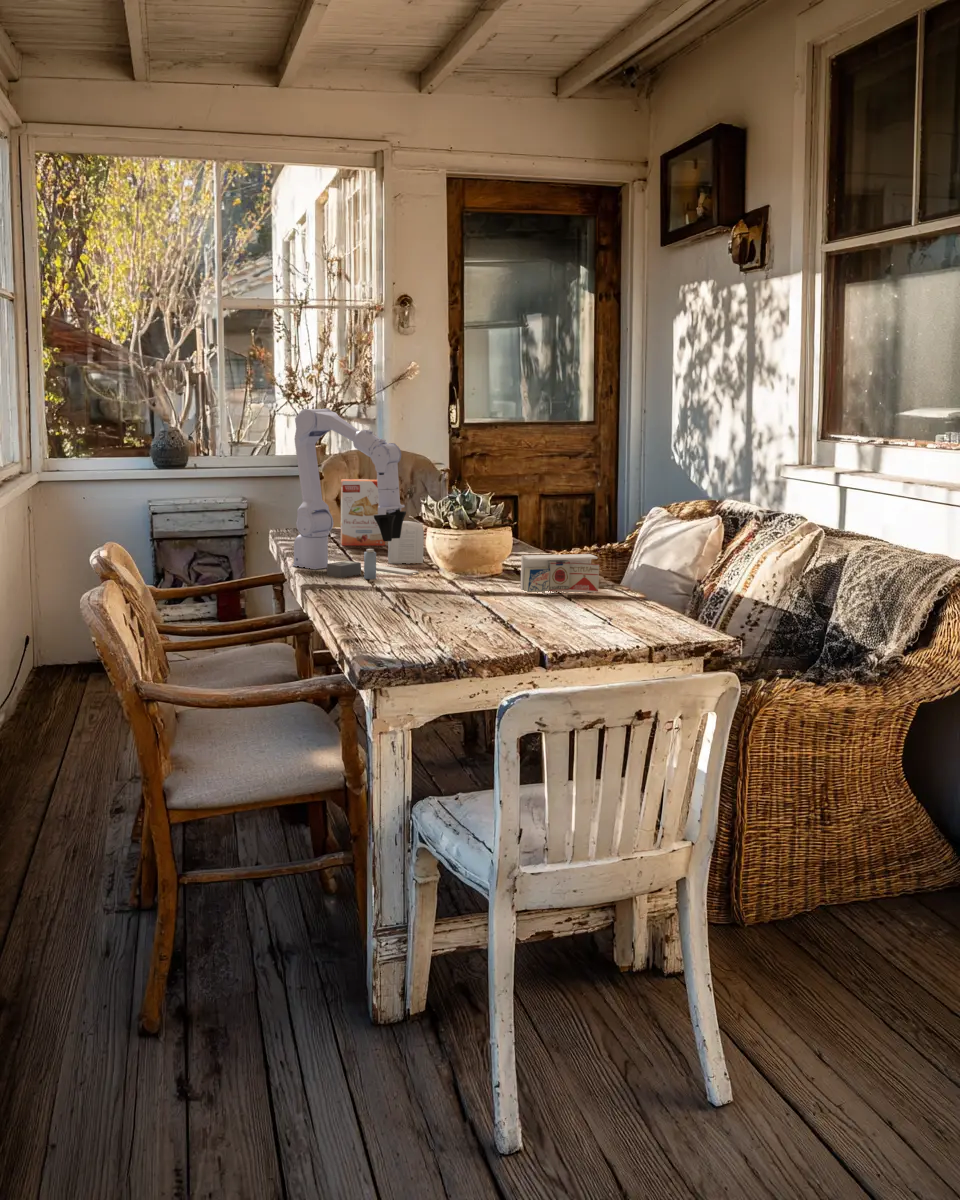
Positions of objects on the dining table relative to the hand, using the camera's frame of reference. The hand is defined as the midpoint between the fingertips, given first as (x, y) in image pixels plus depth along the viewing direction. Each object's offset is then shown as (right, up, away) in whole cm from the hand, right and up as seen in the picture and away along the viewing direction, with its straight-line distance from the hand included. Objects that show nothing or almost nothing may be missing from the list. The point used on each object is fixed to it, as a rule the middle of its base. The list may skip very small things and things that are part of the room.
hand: (391, 539), depth 316 cm
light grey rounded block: (+2, -6, +25) cm, 26 cm away
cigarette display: (+45, -14, -14) cm, 49 cm away
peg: (-6, -10, -1) cm, 12 cm away
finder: (-13, -10, +4) cm, 17 cm away
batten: (-1, -8, +12) cm, 14 cm away
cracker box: (-14, +1, +60) cm, 62 cm away
